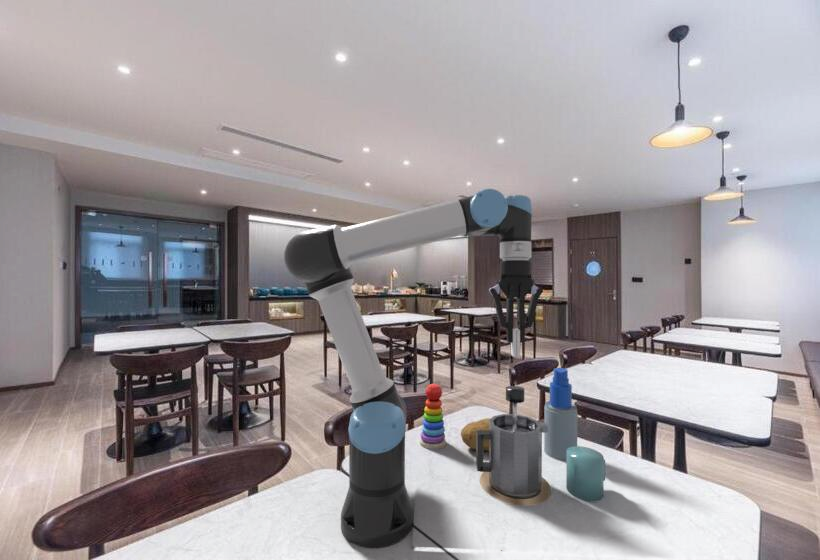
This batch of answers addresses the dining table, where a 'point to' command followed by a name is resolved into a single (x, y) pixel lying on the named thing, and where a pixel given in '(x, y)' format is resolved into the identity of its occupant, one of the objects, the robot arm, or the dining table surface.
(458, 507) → the dining table surface
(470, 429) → the potato
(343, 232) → the robot arm
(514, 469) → the carafe
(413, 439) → the dining table surface
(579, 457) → the mug
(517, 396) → the plunger
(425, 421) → the stacking toy
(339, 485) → the dining table surface
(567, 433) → the spray bottle
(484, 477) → the trivet
